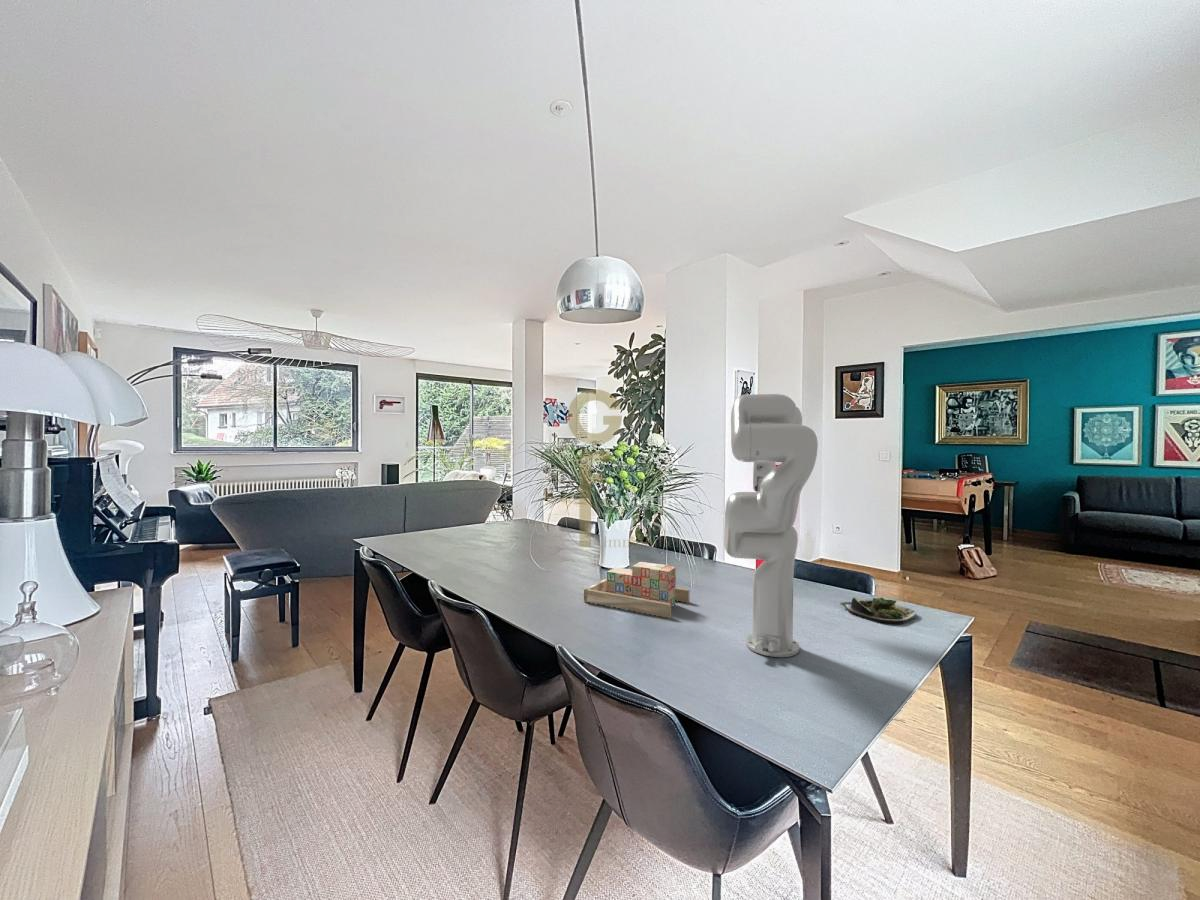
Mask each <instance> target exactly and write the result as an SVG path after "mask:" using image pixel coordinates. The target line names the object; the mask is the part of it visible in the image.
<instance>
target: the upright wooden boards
mask: <svg viewBox="0 0 1200 900" xmlns="http://www.w3.org/2000/svg"><path fill="white" fill-rule="evenodd" d="M606 591H607V577H606V578H604V579H602V580H600V581H598V582H596V583H594V584H592V585H590V586H588V587H586V588H584V589H583V602H584V601H585V602H584V603H587V602H590V603H589V604H592V603H596V604H595V605H597V604H601V605H600V606H602V605H607V606H612V607H611V608H613V607H616V608H615V609H618V608H621V609H620V610H623V609H627V610H626V611H628V610H631V611H630V612H633V611H636V612H635V613H639V612H641V613H640V614H644V613H646V614H645V615H649V614H651V616H654V615H656V616H655V617H659V616H662V617H661V618H665V617H667V618H666V619H670V617H671V618H672V608H671V603H665V602H659V601H654V600H648V599H642V598H637V597H631V596H625V595H620V594H614V593H608V592H606ZM690 592H691V591H690V589H688V588H684V587H683V588H681V587H677V586H675V600H676V601H675V602H678V601H681V602H680V603H684V602H686V604H690V601H691V600H690V598H691V597H690V595H691V594H690ZM607 606H606V607H607Z"/></svg>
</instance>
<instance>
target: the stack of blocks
mask: <svg viewBox="0 0 1200 900" xmlns="http://www.w3.org/2000/svg"><path fill="white" fill-rule="evenodd" d="M676 568H677V567H676V566H671V565H666V564H663V563H662V564H661V563H652V562H645V561H639V562H637V563H636V564H634V565H632V566H631V568H623V567H622V568H621V567H613V568H612V569H609V570H608V571H606V578H607V592H608V593H614V594H620V595H625V596H631V597H637V598H642V599H648V600H654V601H659V602H665V603H671V607H672V606H673V605H674V604H675V605H676V601H675V587H677V586H676V585H677V582H676V581H677V580H676V578H677V577H676V570H677V569H676ZM675 605H674V606H675ZM674 606H673V607H674ZM673 607H672V608H673Z"/></svg>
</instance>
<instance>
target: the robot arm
mask: <svg viewBox="0 0 1200 900" xmlns="http://www.w3.org/2000/svg"><path fill="white" fill-rule="evenodd" d="M730 438H731V439H730V443H731V445H730V446H731V453H732V455H733V457H734V458H735V459H736V460H737V461H739V462H743V463H753V471H752V472H753V473H752V486H753V487H752V490H754V491H737V492H734V493H731V494H730V495H729V496H728V498H727V500H726V503H725V511H724V529H723V532H724V533H723V543H724V545H723V547H724V550H725V553H727V555H728V556H730V557H732V558H734V559H743V560H744V559H748V560H759V561H760V560H761V561H762V562H761V563H760V565H758V567H757V568H756V570H755V571H754V574H753V578H752V634H750V635H749V636H747V637H746V640H745V641H746V642H745V643H746V647H747V648H748V649H749V650H751V651H752V652H754V653H757V654H760V655H763V656H767V657H773V658H789V657H794V656H796V655H797V654H799V652H800V645H799V642H797V640H795V639H794V572H795V571H794V570H795V563H796V562H795V560H796V555H797V549H798V541H799V537H798V532H797V530H796V529H795V527H794V525H795V521H796V518H797V514H798V513H797V512H798V507H799V502H800V496H801V493H802V490H803V488H804V487H805V485H806V483H808V480H809V478H810V476H811V475H812V472H813V470H814V468H815V465H816V460H817V456H818V455H817V454H818V446H819V444H818V436H817V435H816V432H815V431H814V430H813V429H812V428H811V427H809V426H807V425H803V416H802V412H801V409H800V408H799V407H797V405H796V403H795V402H794V401H793V399H792V398H790V397H789V396H788V395H785V394H779V393H765V394H764V393H763V394H759V393H758V394H741V395H739V396H738V397H737V398H736V399H735V400H734V402H733V403H732V407H731V412H730ZM776 463H780V464H779V465H777V466H776Z"/></svg>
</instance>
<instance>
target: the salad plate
mask: <svg viewBox="0 0 1200 900" xmlns="http://www.w3.org/2000/svg"><path fill="white" fill-rule="evenodd" d="M896 602H897V600H894V599H890V598H889V597H886V599H885V598H883V597H877V598H876V597H872V598H871V599H869V598H867V599H866V598H865V599H864V598H863V599H859V598H858V597H853V598H852V599H851V601H844V602H840V603H839V604H840V605H842V606H843V607H844V608H845V609H846V610H847V611H848V613H849V614H850V615H852V616H855V617H858V618H861V619H865V620H866V621H867V620H868V621H870V622H874V623H878V624H884V625H891V626H893V625H895V626H896V625H903V624H905V623H907V622H909V621H910V620H912V619H913V618H915V616H917V612H916V610H913V609H912V608H909V607H904V606H900V605H896ZM897 603H898V602H897Z"/></svg>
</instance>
